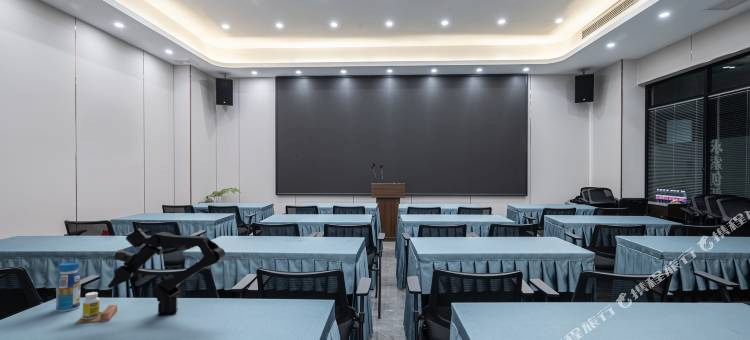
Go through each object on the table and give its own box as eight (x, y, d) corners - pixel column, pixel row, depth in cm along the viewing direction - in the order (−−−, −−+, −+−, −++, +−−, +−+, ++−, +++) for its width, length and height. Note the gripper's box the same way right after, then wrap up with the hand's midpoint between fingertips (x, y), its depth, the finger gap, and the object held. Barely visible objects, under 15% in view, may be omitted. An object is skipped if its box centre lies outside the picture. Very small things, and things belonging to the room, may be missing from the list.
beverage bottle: (51, 309, 157) (52, 264, 157) (74, 303, 165) (75, 259, 165) (60, 313, 153) (61, 266, 153) (84, 307, 161) (85, 262, 161)
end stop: (117, 311, 157) (117, 304, 157) (109, 320, 147) (109, 313, 147) (85, 314, 153) (85, 307, 153) (74, 324, 143) (74, 316, 143)
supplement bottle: (89, 320, 146) (90, 296, 146) (79, 319, 147) (79, 295, 147) (102, 315, 151) (103, 292, 151) (92, 314, 153) (92, 290, 153)
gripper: (134, 239, 163) (104, 265, 159) (121, 247, 145) (87, 277, 141) (154, 255, 165) (125, 282, 161) (143, 265, 148) (111, 295, 144)
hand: (112, 283), depth 152 cm, fingers open, 9 cm apart
